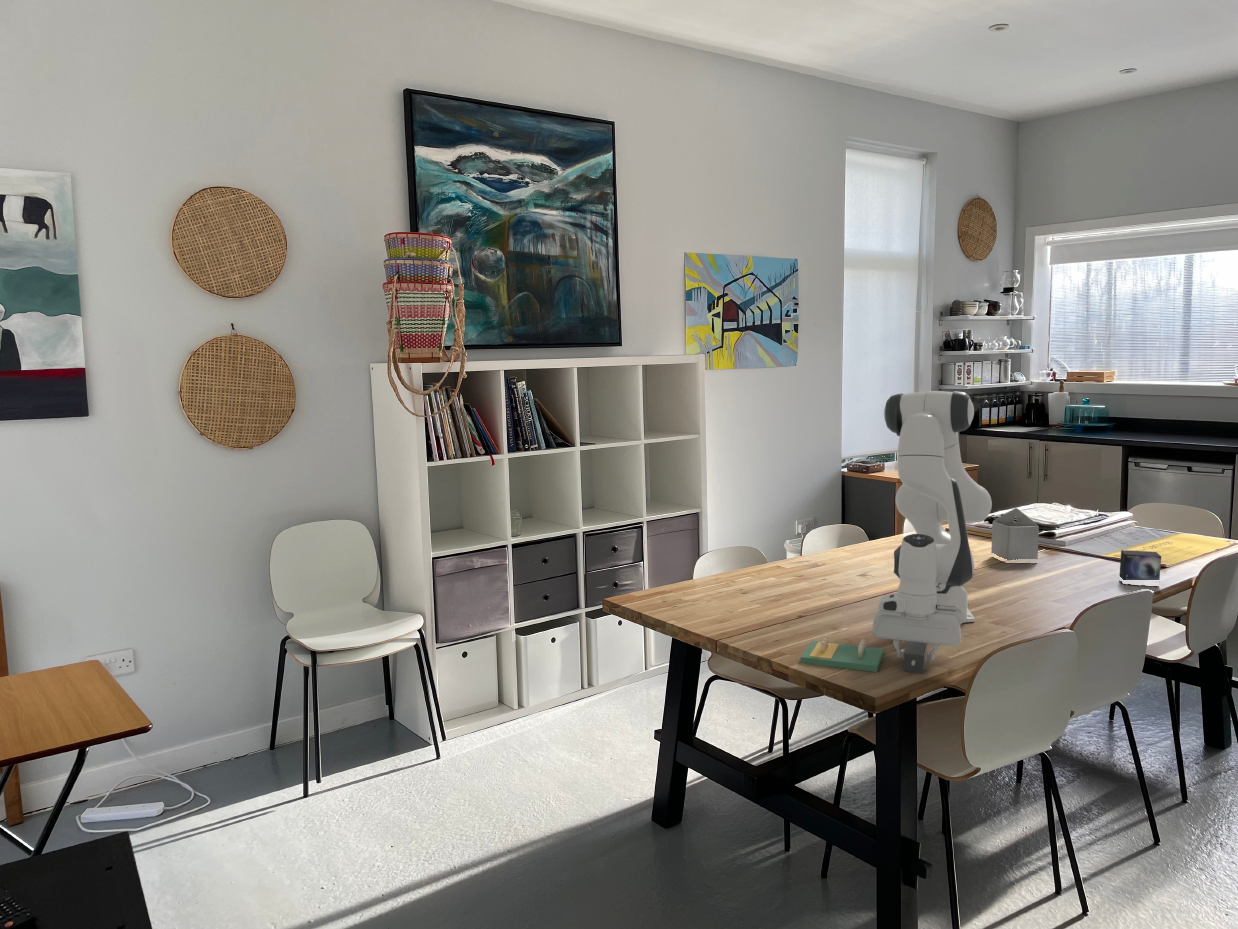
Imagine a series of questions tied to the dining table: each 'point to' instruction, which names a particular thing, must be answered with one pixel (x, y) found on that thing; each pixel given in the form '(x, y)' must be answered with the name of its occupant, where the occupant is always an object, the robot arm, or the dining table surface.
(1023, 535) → the planter
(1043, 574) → the dining table surface
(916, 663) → the block
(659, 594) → the dining table surface
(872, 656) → the board
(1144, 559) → the small box
